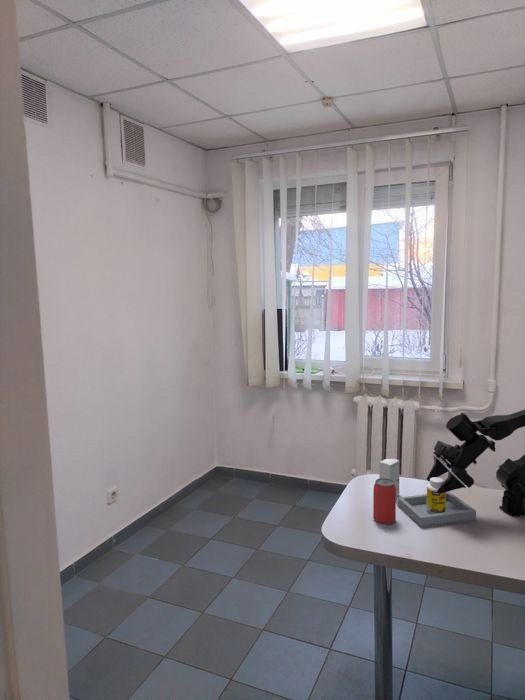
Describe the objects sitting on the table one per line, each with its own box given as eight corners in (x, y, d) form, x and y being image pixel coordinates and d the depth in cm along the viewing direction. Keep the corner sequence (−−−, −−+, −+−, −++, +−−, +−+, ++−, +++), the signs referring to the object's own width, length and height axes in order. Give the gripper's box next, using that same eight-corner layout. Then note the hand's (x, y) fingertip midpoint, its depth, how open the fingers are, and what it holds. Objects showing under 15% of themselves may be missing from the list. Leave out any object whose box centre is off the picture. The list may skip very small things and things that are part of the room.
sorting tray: (448, 500, 158) (448, 491, 158) (475, 520, 144) (476, 510, 144) (397, 506, 154) (397, 497, 154) (420, 527, 141) (420, 517, 140)
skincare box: (390, 500, 159) (390, 465, 157) (378, 496, 162) (378, 461, 160) (400, 494, 163) (400, 460, 161) (388, 491, 166) (388, 457, 165)
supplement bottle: (429, 515, 147) (429, 483, 145) (424, 507, 152) (424, 475, 151) (448, 515, 146) (448, 483, 145) (442, 507, 152) (443, 476, 151)
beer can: (399, 519, 146) (400, 481, 145) (388, 527, 141) (389, 488, 140) (380, 512, 151) (380, 475, 149) (369, 520, 146) (369, 482, 144)
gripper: (440, 424, 155) (405, 458, 157) (464, 443, 137) (424, 481, 138) (464, 447, 156) (429, 480, 158) (491, 469, 138) (451, 506, 139)
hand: (432, 486), depth 148 cm, fingers open, 9 cm apart
